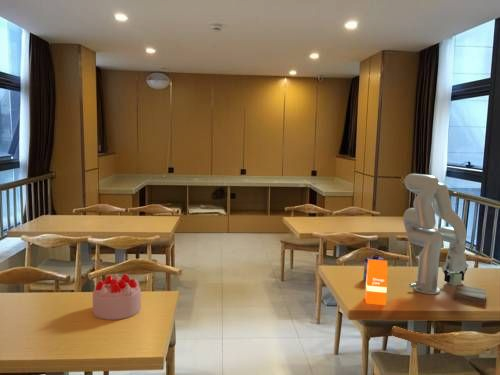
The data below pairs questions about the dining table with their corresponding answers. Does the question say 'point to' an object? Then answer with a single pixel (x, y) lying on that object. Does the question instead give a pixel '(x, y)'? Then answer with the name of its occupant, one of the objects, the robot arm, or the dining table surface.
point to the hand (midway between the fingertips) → (454, 280)
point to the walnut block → (470, 295)
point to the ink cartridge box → (367, 264)
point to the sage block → (455, 278)
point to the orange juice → (376, 282)
